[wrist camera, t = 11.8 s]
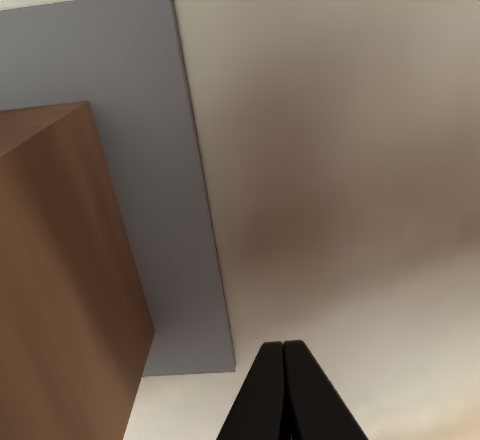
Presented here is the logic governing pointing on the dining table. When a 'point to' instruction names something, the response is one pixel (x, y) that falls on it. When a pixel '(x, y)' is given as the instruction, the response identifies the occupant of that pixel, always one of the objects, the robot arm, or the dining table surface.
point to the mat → (134, 154)
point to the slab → (65, 283)
